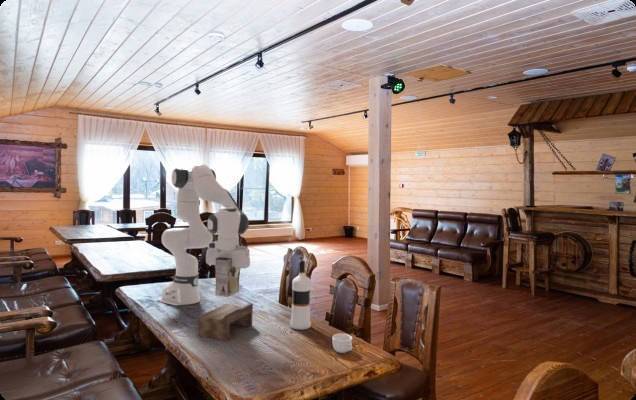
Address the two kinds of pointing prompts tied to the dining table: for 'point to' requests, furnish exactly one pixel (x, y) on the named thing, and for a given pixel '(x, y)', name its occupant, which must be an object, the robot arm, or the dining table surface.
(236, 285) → the coffee box
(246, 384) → the dining table surface
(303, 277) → the vodka
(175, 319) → the dining table surface
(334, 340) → the teacup
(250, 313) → the walnut shelf
